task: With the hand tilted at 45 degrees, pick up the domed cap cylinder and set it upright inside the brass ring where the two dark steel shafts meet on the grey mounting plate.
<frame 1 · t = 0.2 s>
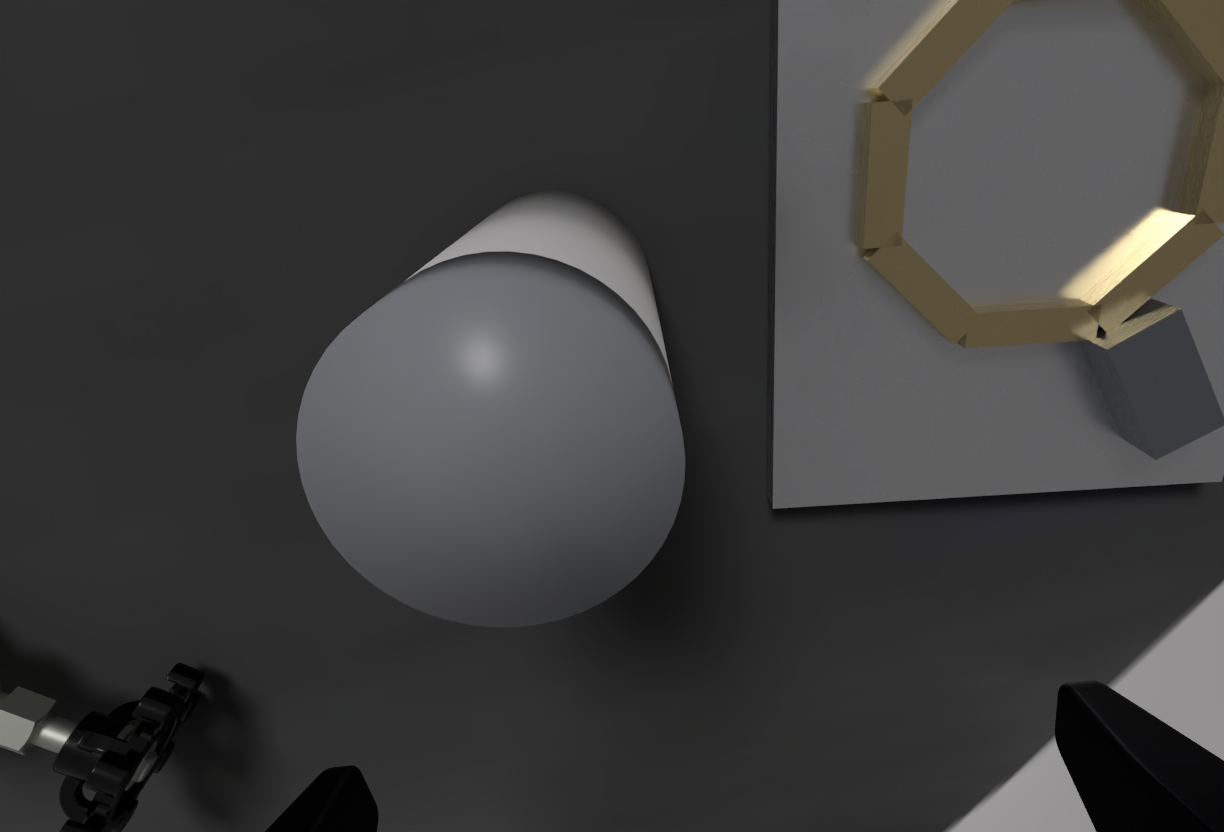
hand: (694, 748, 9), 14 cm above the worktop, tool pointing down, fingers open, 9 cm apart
domed cap cylinder: (556, 288, 22), on the worktop
shaft mount: (1023, 160, 20), on the worktop
valve: (46, 631, 27), on the worktop
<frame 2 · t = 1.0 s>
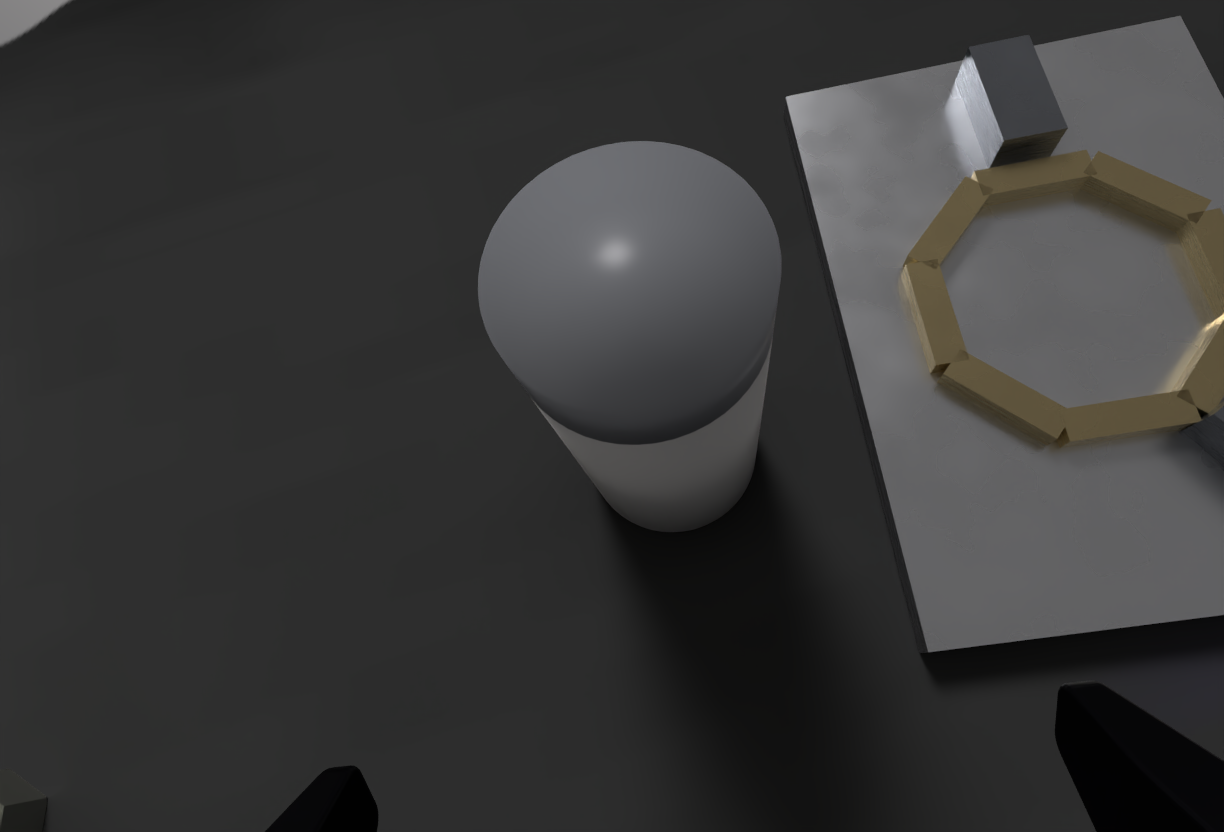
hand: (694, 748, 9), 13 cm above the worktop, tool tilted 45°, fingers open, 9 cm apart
domed cap cylinder: (671, 449, 25), on the worktop
shaft mount: (1055, 311, 24), on the worktop
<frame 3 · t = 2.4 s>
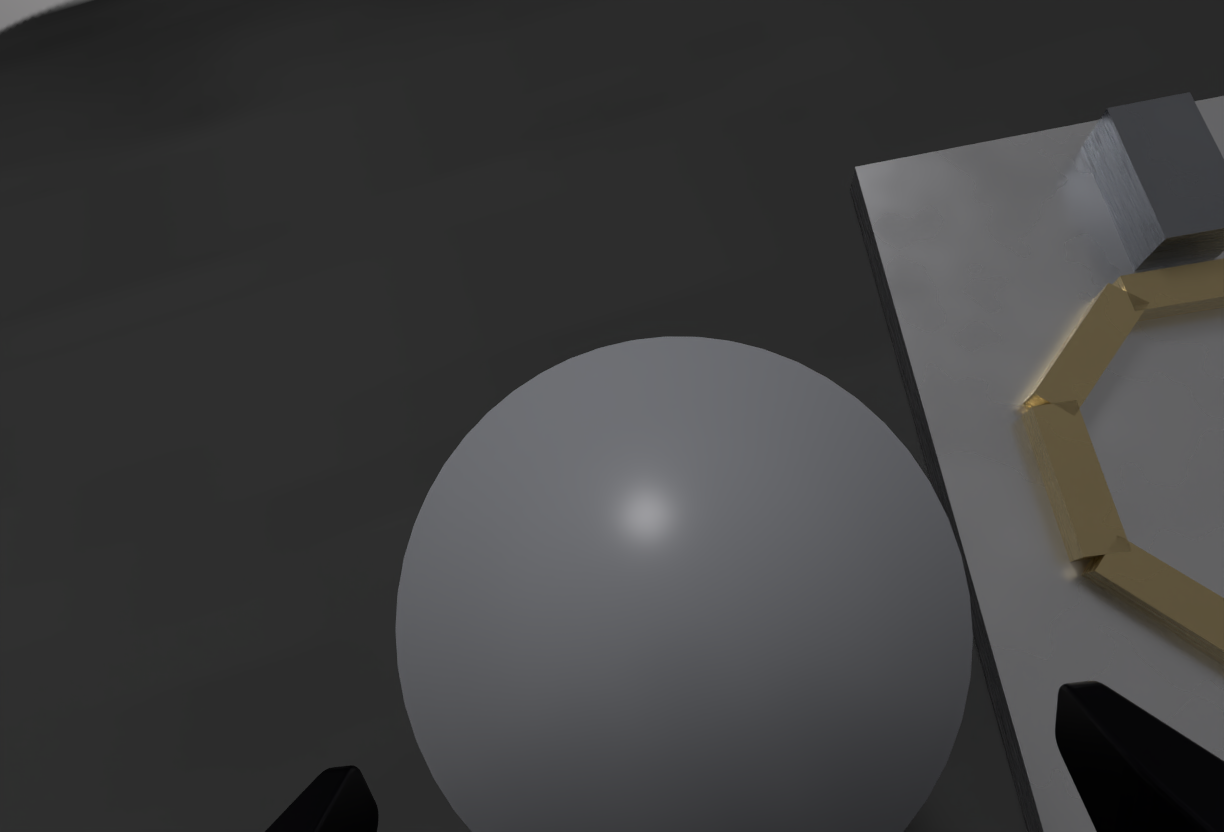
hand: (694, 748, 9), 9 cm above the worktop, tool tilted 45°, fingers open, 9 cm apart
domed cap cylinder: (709, 646, 18), on the worktop
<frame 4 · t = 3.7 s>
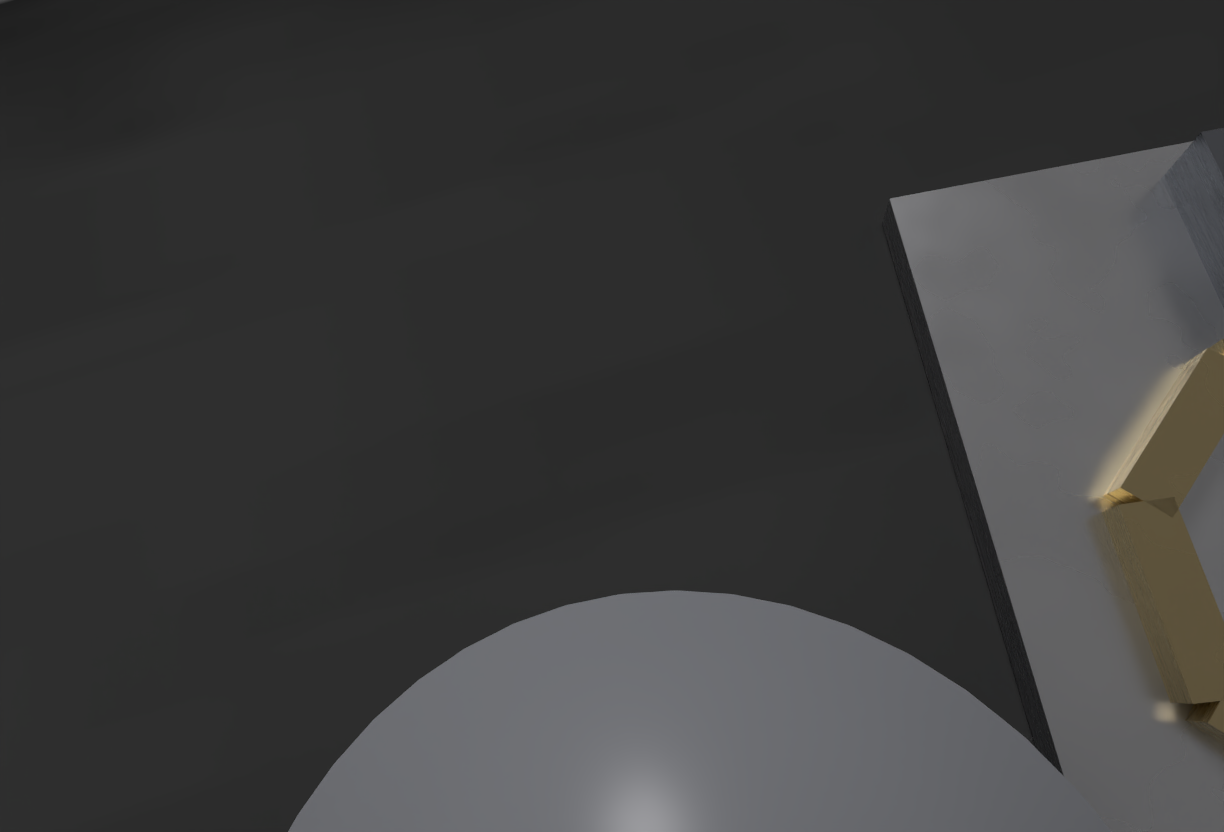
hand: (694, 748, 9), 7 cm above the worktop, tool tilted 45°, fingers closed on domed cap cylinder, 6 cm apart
domed cap cylinder: (720, 792, 15), on the worktop, touching gripper
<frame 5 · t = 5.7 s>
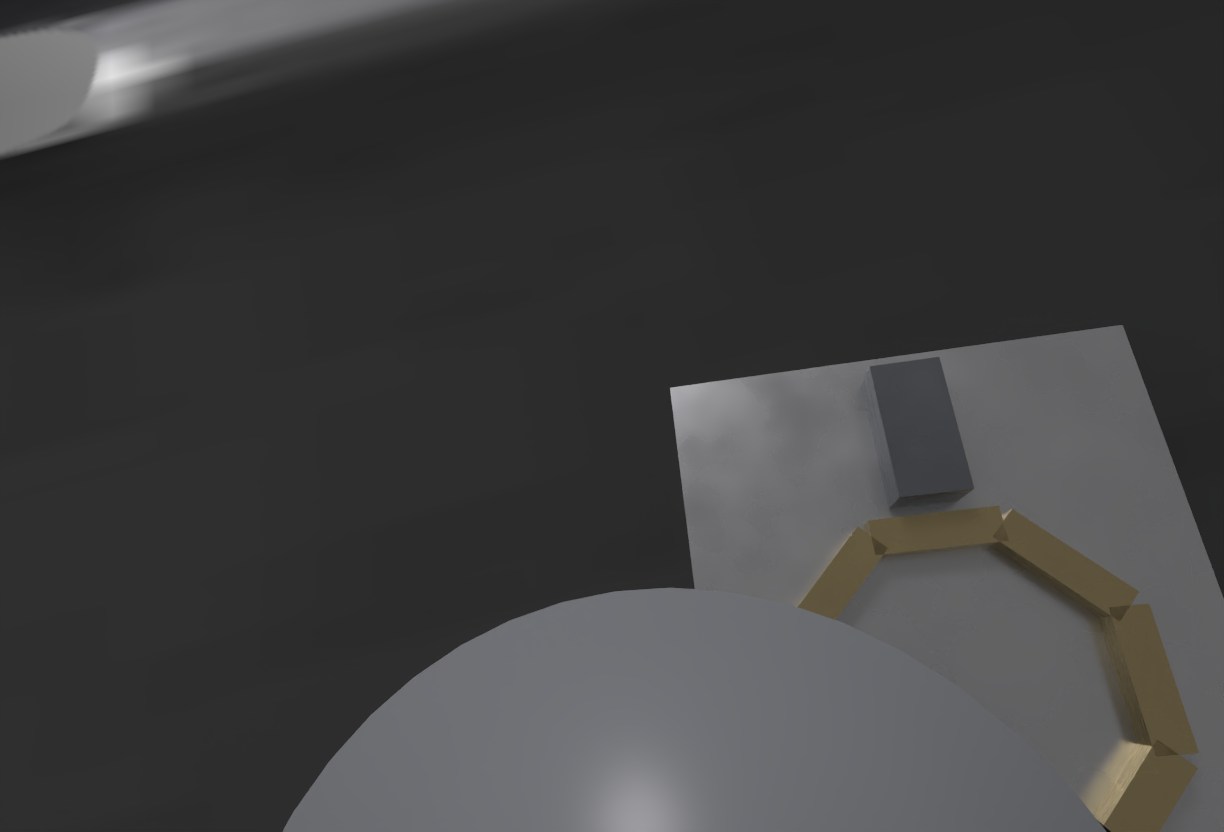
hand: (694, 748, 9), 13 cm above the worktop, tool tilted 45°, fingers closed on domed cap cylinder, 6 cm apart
domed cap cylinder: (719, 791, 15), point 6 cm above the worktop, touching gripper
shaft mount: (957, 691, 21), on the worktop
when the fingers open (9 cm above the worktop, at t = 7.5 s): domed cap cylinder drops 1 cm, resting on shaft mount.
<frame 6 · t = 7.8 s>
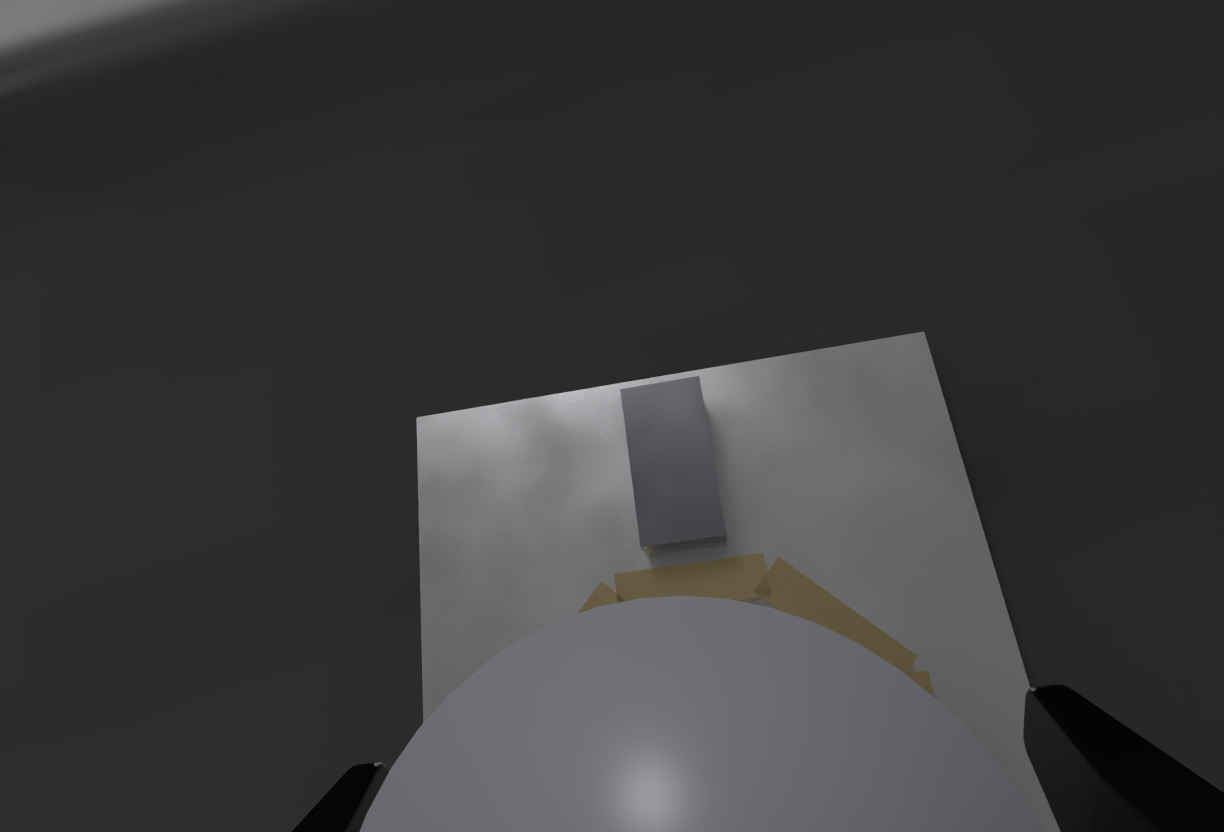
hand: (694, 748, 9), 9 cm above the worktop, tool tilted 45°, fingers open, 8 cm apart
domed cap cylinder: (722, 784, 16), point 1 cm above the worktop, touching shaft mount
shaft mount: (722, 775, 17), on the worktop
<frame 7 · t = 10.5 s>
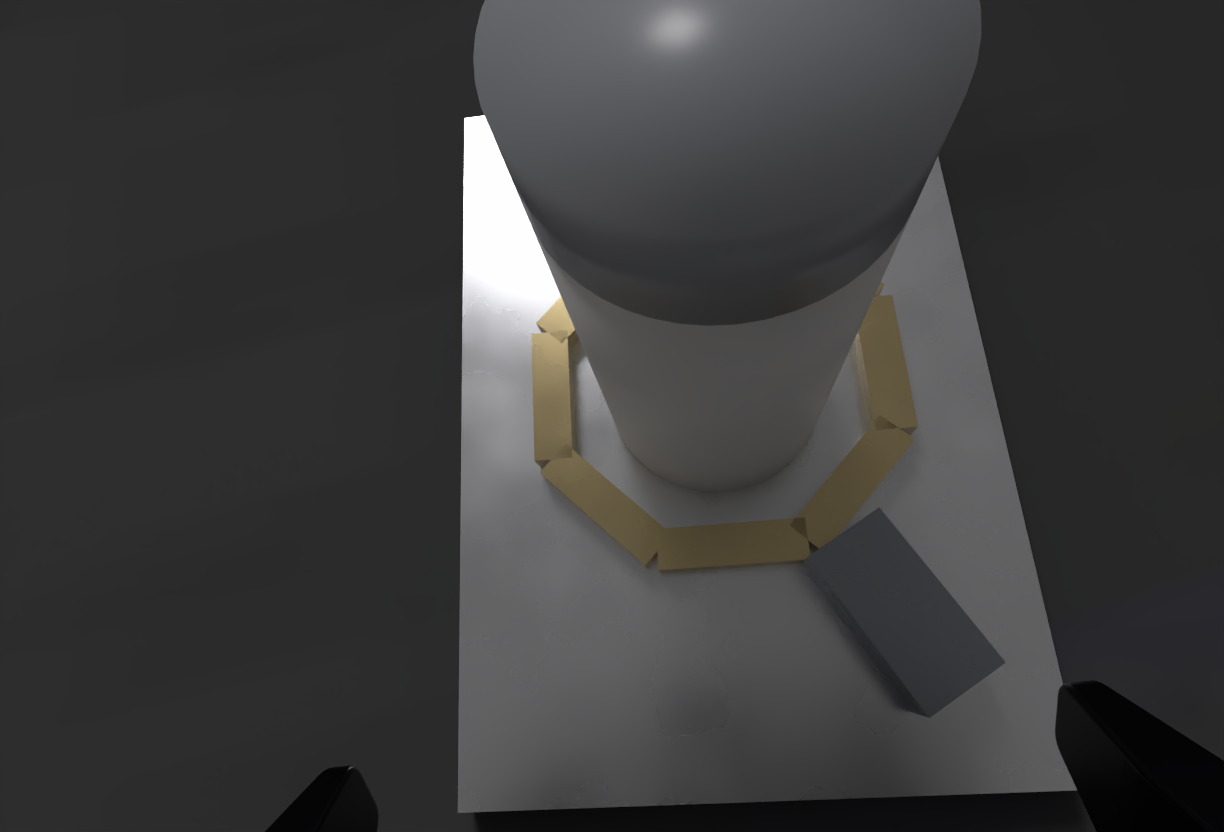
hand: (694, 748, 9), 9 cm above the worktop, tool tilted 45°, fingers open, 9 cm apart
domed cap cylinder: (713, 389, 19), point 1 cm above the worktop, touching shaft mount
shaft mount: (713, 398, 20), on the worktop
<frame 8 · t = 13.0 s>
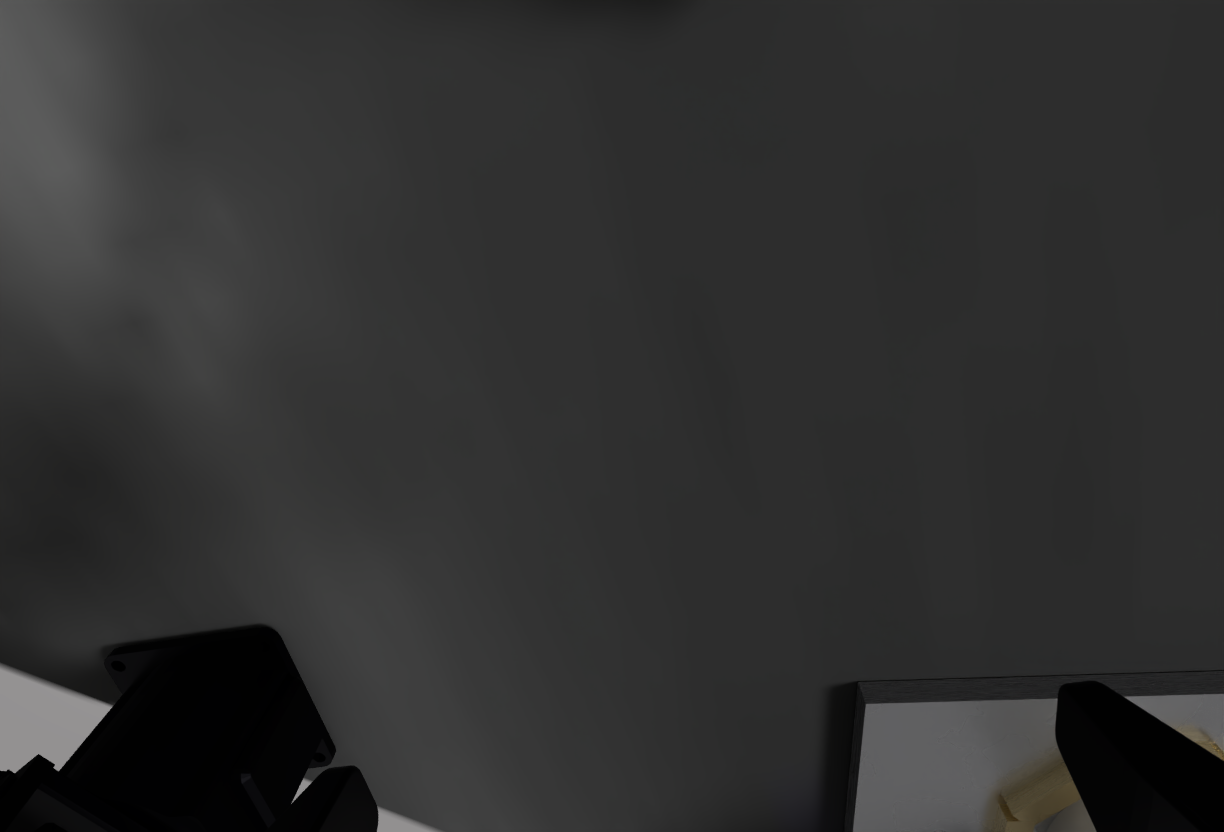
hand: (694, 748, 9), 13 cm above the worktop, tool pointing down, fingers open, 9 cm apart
shaft mount: (1106, 809, 28), on the worktop
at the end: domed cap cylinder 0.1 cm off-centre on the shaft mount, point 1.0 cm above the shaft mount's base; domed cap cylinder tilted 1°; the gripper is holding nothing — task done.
